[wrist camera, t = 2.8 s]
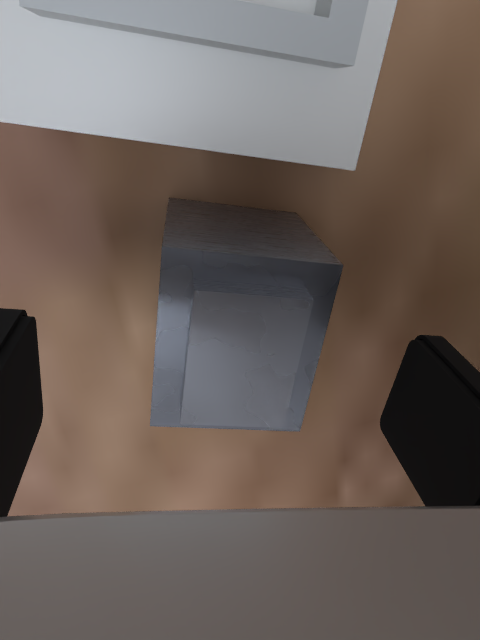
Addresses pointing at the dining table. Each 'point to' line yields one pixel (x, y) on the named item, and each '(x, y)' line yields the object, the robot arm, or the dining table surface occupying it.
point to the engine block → (239, 317)
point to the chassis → (199, 72)
